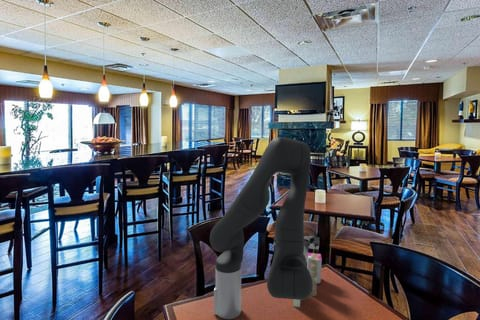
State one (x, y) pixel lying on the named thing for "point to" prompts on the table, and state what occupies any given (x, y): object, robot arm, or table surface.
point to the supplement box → (317, 266)
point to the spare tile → (296, 303)
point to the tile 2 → (314, 273)
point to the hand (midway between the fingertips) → (297, 233)
